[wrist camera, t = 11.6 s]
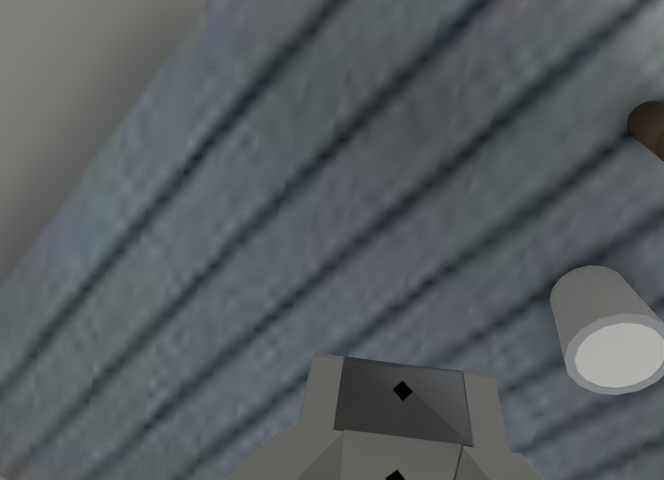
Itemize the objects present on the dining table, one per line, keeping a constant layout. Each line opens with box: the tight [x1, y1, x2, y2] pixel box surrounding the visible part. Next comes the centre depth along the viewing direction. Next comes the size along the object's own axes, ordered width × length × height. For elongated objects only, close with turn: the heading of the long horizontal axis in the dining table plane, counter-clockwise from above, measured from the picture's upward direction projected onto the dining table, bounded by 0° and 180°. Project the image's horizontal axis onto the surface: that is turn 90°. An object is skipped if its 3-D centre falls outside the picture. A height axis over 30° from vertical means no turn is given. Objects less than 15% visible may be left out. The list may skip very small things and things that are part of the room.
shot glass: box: [550, 265, 664, 395], centre depth 38 cm, size 7×7×7 cm
